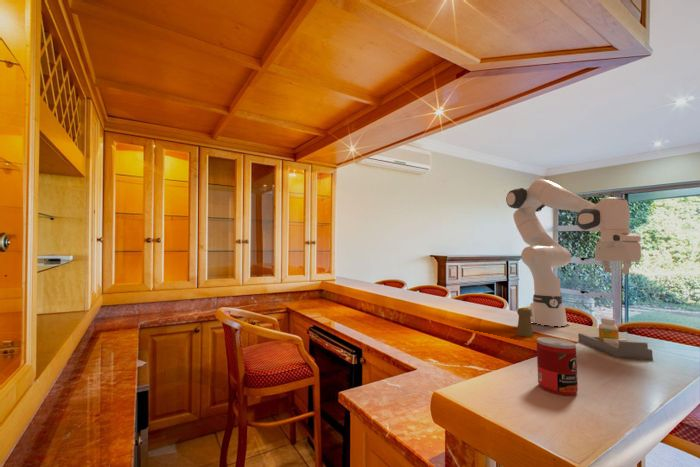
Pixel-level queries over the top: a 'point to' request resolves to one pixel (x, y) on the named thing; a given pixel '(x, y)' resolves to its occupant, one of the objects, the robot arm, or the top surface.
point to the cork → (524, 323)
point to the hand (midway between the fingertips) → (616, 273)
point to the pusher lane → (619, 348)
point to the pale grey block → (613, 341)
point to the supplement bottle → (608, 329)
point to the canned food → (557, 366)
